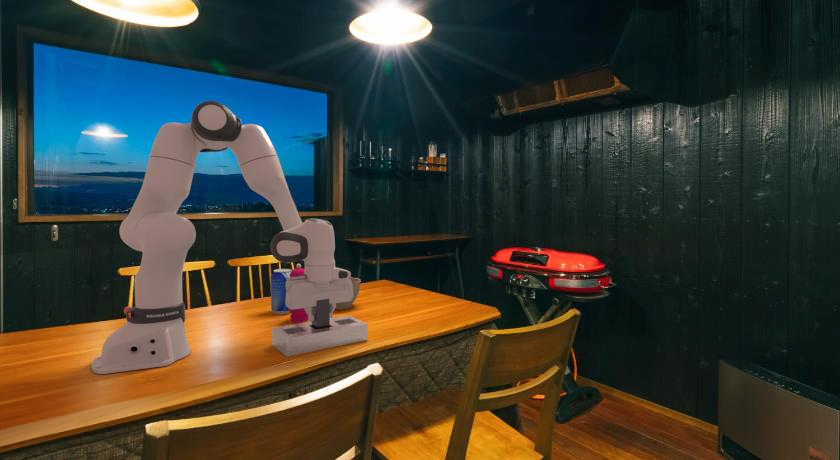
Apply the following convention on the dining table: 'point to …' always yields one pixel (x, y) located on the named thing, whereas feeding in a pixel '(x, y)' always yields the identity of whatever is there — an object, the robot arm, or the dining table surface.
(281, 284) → the beer can
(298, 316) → the pepper mill
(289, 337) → the white slotted block holder
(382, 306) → the dining table surface
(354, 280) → the planter bowl
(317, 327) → the steel block
